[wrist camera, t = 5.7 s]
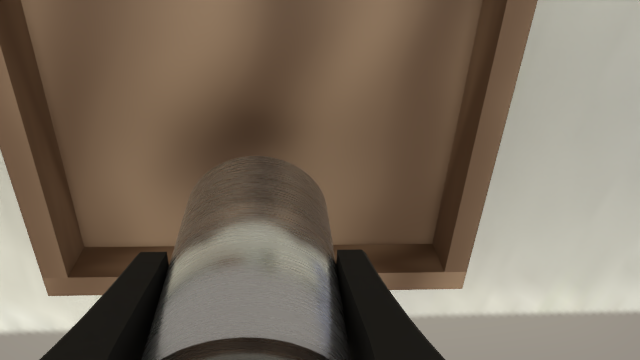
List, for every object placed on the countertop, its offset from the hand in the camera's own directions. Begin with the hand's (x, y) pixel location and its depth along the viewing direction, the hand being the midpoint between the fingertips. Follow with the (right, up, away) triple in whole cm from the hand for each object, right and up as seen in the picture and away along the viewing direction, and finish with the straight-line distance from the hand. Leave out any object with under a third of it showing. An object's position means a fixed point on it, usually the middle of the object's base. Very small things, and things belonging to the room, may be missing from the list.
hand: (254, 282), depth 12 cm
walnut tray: (-1, +5, +8) cm, 9 cm away
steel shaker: (0, +1, +2) cm, 3 cm away
